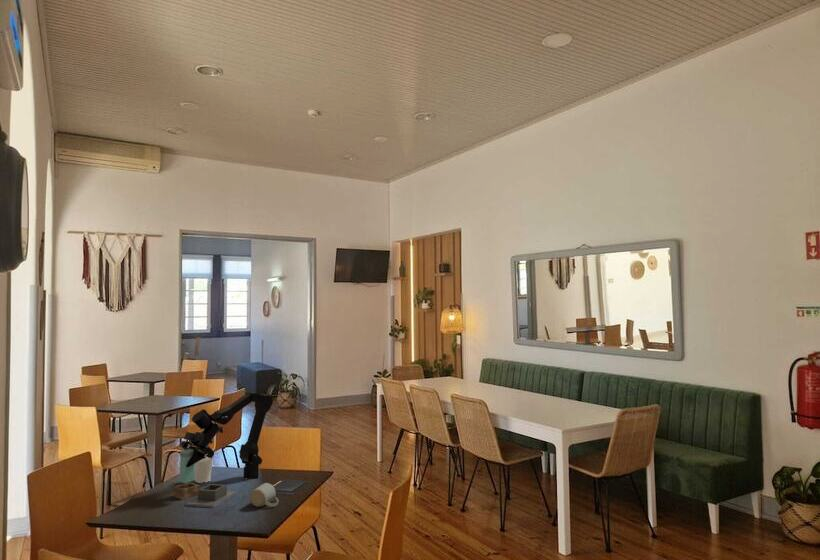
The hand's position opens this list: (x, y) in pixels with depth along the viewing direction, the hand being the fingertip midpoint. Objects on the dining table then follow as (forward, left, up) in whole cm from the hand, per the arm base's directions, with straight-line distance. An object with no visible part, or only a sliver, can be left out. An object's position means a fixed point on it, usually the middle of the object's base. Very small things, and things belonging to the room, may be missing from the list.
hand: (184, 466), depth 235 cm
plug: (-1, -1, -7) cm, 7 cm away
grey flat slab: (-43, 0, -14) cm, 45 cm away
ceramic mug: (-33, +21, -13) cm, 42 cm away
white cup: (-6, -22, -13) cm, 26 cm away
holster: (-1, -1, -13) cm, 13 cm away
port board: (-12, +8, -13) cm, 19 cm away
